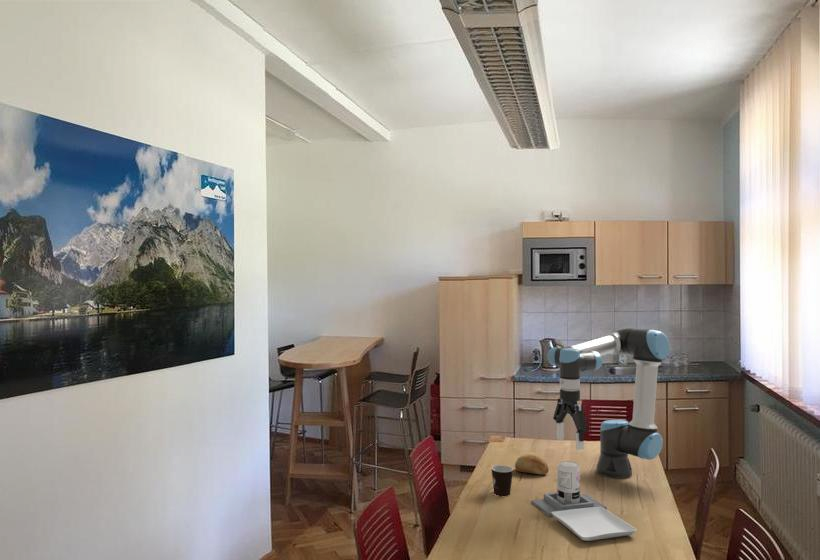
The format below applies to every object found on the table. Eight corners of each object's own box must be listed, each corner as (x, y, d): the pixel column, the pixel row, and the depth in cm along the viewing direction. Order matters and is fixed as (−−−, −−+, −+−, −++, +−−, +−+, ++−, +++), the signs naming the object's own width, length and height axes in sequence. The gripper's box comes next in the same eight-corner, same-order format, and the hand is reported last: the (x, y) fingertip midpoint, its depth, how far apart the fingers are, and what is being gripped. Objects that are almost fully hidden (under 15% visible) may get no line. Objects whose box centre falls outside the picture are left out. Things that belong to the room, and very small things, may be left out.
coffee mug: (512, 498, 234) (512, 472, 234) (490, 496, 236) (490, 471, 236) (513, 487, 246) (513, 463, 246) (492, 486, 247) (492, 462, 247)
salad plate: (638, 539, 200) (638, 528, 200) (583, 547, 194) (583, 536, 193) (601, 514, 220) (601, 505, 220) (549, 521, 214) (549, 511, 214)
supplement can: (554, 499, 230) (554, 460, 230) (575, 499, 231) (575, 460, 231) (561, 507, 222) (561, 467, 222) (582, 507, 223) (583, 467, 223)
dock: (585, 496, 237) (585, 488, 237) (606, 509, 223) (606, 501, 223) (531, 502, 230) (531, 494, 230) (549, 516, 217) (549, 508, 217)
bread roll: (545, 479, 257) (545, 460, 257) (511, 473, 263) (511, 455, 263) (550, 472, 265) (550, 454, 265) (517, 467, 272) (518, 449, 272)
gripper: (544, 383, 239) (544, 436, 240) (579, 396, 216) (579, 454, 216) (560, 382, 242) (560, 434, 242) (597, 394, 218) (597, 452, 218)
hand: (569, 444), depth 229 cm, fingers open, 13 cm apart
